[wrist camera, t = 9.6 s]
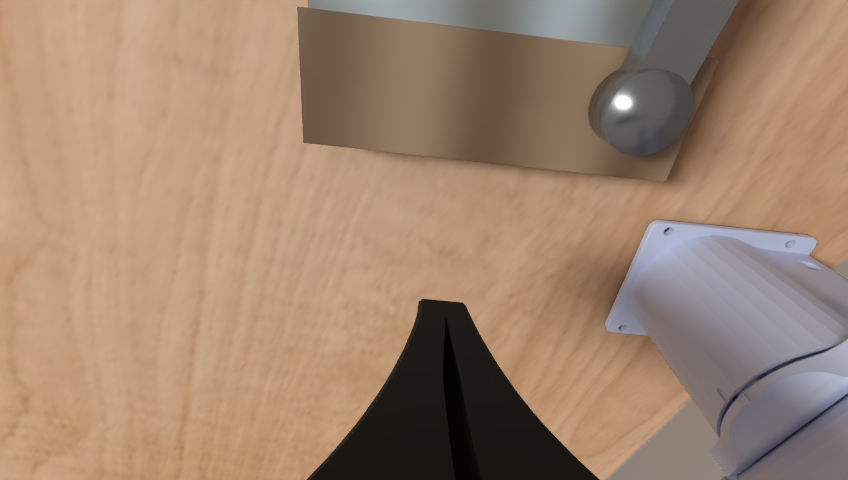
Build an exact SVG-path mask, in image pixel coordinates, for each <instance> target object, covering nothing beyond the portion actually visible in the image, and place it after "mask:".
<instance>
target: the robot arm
mask: <svg viewBox="0 0 848 480" xmlns="http://www.w3.org/2000/svg"><path fill="white" fill-rule="evenodd" d="M669 227H670V229H669V230H668V231H666V232H664V230H665V229H666V228H669ZM788 241H789V242H788ZM787 242H788V243H787ZM816 244H817V240H816V239H815V238H813V237H811V236H809V235H803V234H793V233H784V232H774V231H764V230H755V229H745V228H736V227H726V226H716V225H707V224H697V223H688V222H678V221H668V220H655V221H653V222H652V223H650V224H649V226H648V228H647V230H646V232H645V234H644V237H643V239H642V241H641V243H640V246H639V248H638V250H637V252H636V255H635V257H634V259H633V261H632V263H631V266H630V268H629V270H628V272H627V275H626V277H625V279H624V281H623V284H622V286H621V288H620V290H619V293H618V295H617V297H616V299H615V302H614V304H613V306H612V308H611V311H610V313H609V315H608V317H607V320H606V322H605V327H606V329H607V330H608V331H609V332H614V333H625V334H636V335H647V336H649V338H650V339H651V340H652V342H653V343H654V345H655V346H656V348H657V349H658V351H659V352H660V353H661V355H662V356H663V358H664V359H665V361H666V362H667V364H668V365H669V366H670V368H671V369H672V371H673V372H674V374H675V375H676V377H677V378H678V379H679V381H680V382H681V384H682V385H683V387H684V388H685V390H686V391H687V392H688V394H689V395H690V397H691V398H692V400H693V401H694V402H695V404H696V405H697V407H698V408H699V410H700V411H701V413H702V414H703V416H704V417H705V419H706V420H707V421H708V423H709V424H710V426H711V427H712V429H713V430H714V432H715V433H716V434H717V436H718V437H719V440H718V442H717V443H716V445H715V446H713V448H711V449H710V453H711V454H712V456H713V457H714V459H715V460H716V462H717V463H718V465H719V467H720V468H721V470H722V471H723V473H724V474H725V477H723V478H722V479H721V480H848V280H847V279H846V278H844V277H843V276H841V275H839V274H838V273H836V272H835V271H833V270H831V269H830V268H828V267H827V266H825V265H823V264H822V263H820V262H819V261H817V260H815V259H814V258H812V257H811V256H809V255H810V253H811V252H812V250H813V249H814V248H815V246H816ZM620 325H622V326H620ZM307 480H599V479H598V478H597V477H596V476H595V475H594V474H593V473H592V472H591V471H590V470H588V469H587V468H586V467H585V466H584V465H583V464H582V463H581V462H580V461H579V460H578V459H577V458H576V457H575V456H573V455H572V454H571V453H570V452H569V451H568V449H567V448H566V447H565V446H564V445H563V444H562V443H561V442H560V441H559V440H558V439H557V438H556V437H555V436H554V435H553V434H552V433H551V432H550V431H549V430H548V429H547V428H546V427H545V425H544V424H543V423H542V422H541V421H540V420H539V418H538V417H537V416H536V415H535V414H534V413H533V411H532V410H531V409H530V408H529V407H528V405H527V404H526V403H525V402H524V400H523V399H522V398H521V397H520V395H519V394H518V393H517V391H516V390H515V389H514V387H513V386H512V385H511V383H510V382H509V380H508V379H507V377H506V376H505V375H504V373H503V372H502V370H501V369H500V367H499V366H498V364H497V362H496V361H495V359H494V358H493V356H492V354H491V353H490V351H489V349H488V348H487V346H486V344H485V343H484V341H483V339H482V337H481V336H480V334H479V332H478V330H477V328H476V326H475V324H474V322H473V320H472V318H471V316H470V314H469V312H468V310H467V308H466V306H465V305H464V303H460V302H449V301H439V300H428V299H422V300H421V301H419V305H418V312H417V317H416V320H415V323H414V326H413V329H412V331H411V334H410V336H409V338H408V341H407V343H406V345H405V347H404V350H403V352H402V353H401V355H400V357H399V359H398V361H397V363H396V365H395V367H394V369H393V370H392V372H391V374H390V376H389V377H388V379H387V381H386V382H385V384H384V385H383V387H382V388H381V390H380V392H379V393H378V395H377V396H376V398H375V399H374V400H373V402H372V403H371V405H370V406H369V407H368V409H367V410H366V412H365V413H364V414H363V416H362V417H361V418H360V420H359V421H358V422H357V424H356V425H355V426H354V427H353V429H352V430H351V431H350V432H349V433H348V434H347V436H346V437H345V438H344V439H343V440H342V442H341V443H340V444H339V445H338V446H337V448H336V449H335V450H334V451H333V452H332V453H331V454H330V456H329V457H328V458H327V459H326V460H325V461H324V462H323V463H322V464H321V465H320V466H319V467H318V468H317V469H316V470H315V471H314V472H313V473H312V474H311V476H310V477H309V478H308V479H307Z"/></svg>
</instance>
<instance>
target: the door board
mask: <svg viewBox="0 0 848 480" xmlns="http://www.w3.org/2000/svg"><path fill="white" fill-rule="evenodd" d="M652 2H653V0H308V8H303V7H297V11H298V33H299V55H300V77H301V99H302V121H303V143H311V144H320V145H329V146H339V147H348V148H357V149H366V150H375V151H385V152H394V153H403V154H412V155H421V156H431V157H440V158H449V159H458V160H467V161H477V162H486V163H495V164H504V165H513V166H523V167H532V168H541V169H550V170H559V171H569V172H578V173H587V174H596V175H605V176H615V177H624V178H633V179H642V180H651V181H661V182H666V180H667V177H668V175H669V173H670V171H671V168H672V166H673V164H674V161H675V159H676V157H677V155H678V152H679V150H680V148H681V146H682V143H683V141H684V139H685V137H686V134H687V132H688V130H689V128H690V125H691V123H692V121H693V118H694V116H695V114H696V112H697V109H698V107H699V105H700V103H701V100H702V98H703V96H704V94H705V91H706V89H707V87H708V85H709V82H710V80H711V78H712V76H713V73H714V71H715V69H716V66H717V64H718V62H719V59H712V58H705V60H704V62H703V63H702V65H701V67H700V69H699V70H698V72H697V74H696V75H695V77H694V79H693V81H692V82H691V84H690V88H691V91H692V95H693V108H692V113H691V116H690V119H689V121H688V123H687V125H686V127H685V128H684V130H683V131H682V133H681V134H680V135H679V136H678V137H677V138H676V139H675V140H674V141H673V142H672V143H671V144H670V145H668V146H667V147H665V148H664V149H662V150H660V151H658V152H655V153H653V154H650V155H645V156H630V155H626V154H624V153H622V152H620V151H618V150H617V149H615V148H614V147H612V146H611V145H610V144H608V143H607V142H605V141H604V140H602V139H601V138H600V137H598V136H597V135H596V134H595V133H594V131H593V130H592V128H591V126H590V123H589V118H588V109H589V104H590V100H591V98H592V95H593V93H594V91H595V90H596V88H597V87H598V85H599V84H600V83H601V82H602V81H603V80H604V79H605V78H606V77H607V76H608V75H610V74H611V73H612V72H614V71H616V70H618V69H620V67H621V65H622V63H623V61H624V59H625V57H626V55H627V53H628V51H629V49H630V47H631V45H632V43H633V41H634V38H635V36H636V34H637V32H638V30H639V28H640V26H641V24H642V22H643V20H644V18H645V16H646V14H647V12H648V10H649V8H650V6H651V4H652Z"/></svg>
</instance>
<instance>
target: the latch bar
mask: <svg viewBox="0 0 848 480" xmlns="http://www.w3.org/2000/svg"><path fill="white" fill-rule="evenodd" d="M738 1H739V0H653V2H652V4H651V6H650V8H649V10H648V12H647V14H646V16H645V18H644V20H643V22H642V24H641V26H640V28H639V30H638V32H637V34H636V36H635V38H634V41H633V43H632V45H631V47H630V49H629V51H628V53H627V55H626V57H625V59H624V61H623V63H622V65H621V67H620V69H618V70H616V71H614V72H612V73H611V74H610V75H608V76H607V77H606V78H605V79H604V80H603V81H602V82H601V83H600V84H599V85H598V87H597V88H596V90H595V91H594V93H593V95H592V98H591V100H590V104H589V109H588V118H589V123H590V126H591V128H592V130H593V131H594V133H595V134H596V135H597V136H598V137H600V138H601V139H602V140H604V141H605V142H607V143H608V144H610V145H611V146H612V147H614V148H615V149H617V150H618V151H620V152H622V153H624V154H626V155H630V156H645V155H650V154H653V153H655V152H658V151H660V150H662V149H664V148H665V147H667V146H668V145H670V144H671V143H672V142H673V141H674V140H675V139H676V138H677V137H678V136H679V135H680V134H681V133H682V131H683V130H684V128H685V127H686V125H687V123H688V121H689V119H690V116H691V113H692V108H693V95H692V91H691V88H690V84H691V82H692V81H693V79H694V77H695V75H696V74H697V72H698V70H699V69H700V67H701V65H702V63H703V62H704V60H705V58H706V57H707V55H708V53H709V51H710V50H711V48H712V46H713V45H714V43H715V41H716V39H717V38H718V36H719V34H720V32H721V31H722V29H723V27H724V26H725V24H726V22H727V20H728V19H729V17H730V15H731V14H732V12H733V10H734V8H735V7H736V5H737V3H738Z"/></svg>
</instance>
